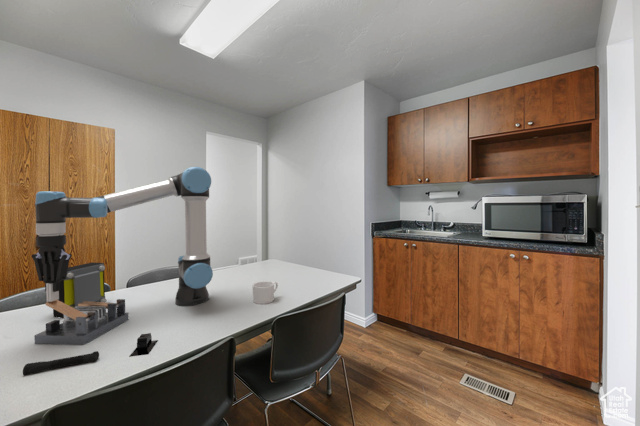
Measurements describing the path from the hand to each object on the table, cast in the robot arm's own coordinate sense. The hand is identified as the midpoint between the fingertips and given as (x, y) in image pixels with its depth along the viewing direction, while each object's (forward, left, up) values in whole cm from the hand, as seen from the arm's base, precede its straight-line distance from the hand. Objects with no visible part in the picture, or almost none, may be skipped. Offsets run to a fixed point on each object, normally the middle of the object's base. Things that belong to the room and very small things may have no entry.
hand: (52, 300), depth 96 cm
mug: (-67, -42, -14) cm, 80 cm away
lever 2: (-5, -13, -7) cm, 16 cm away
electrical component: (+16, -27, -14) cm, 34 cm away
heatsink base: (-6, -7, -14) cm, 17 cm away
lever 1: (-5, 0, -4) cm, 7 cm away
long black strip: (-20, +16, -15) cm, 29 cm away
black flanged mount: (-37, +5, -15) cm, 40 cm away
